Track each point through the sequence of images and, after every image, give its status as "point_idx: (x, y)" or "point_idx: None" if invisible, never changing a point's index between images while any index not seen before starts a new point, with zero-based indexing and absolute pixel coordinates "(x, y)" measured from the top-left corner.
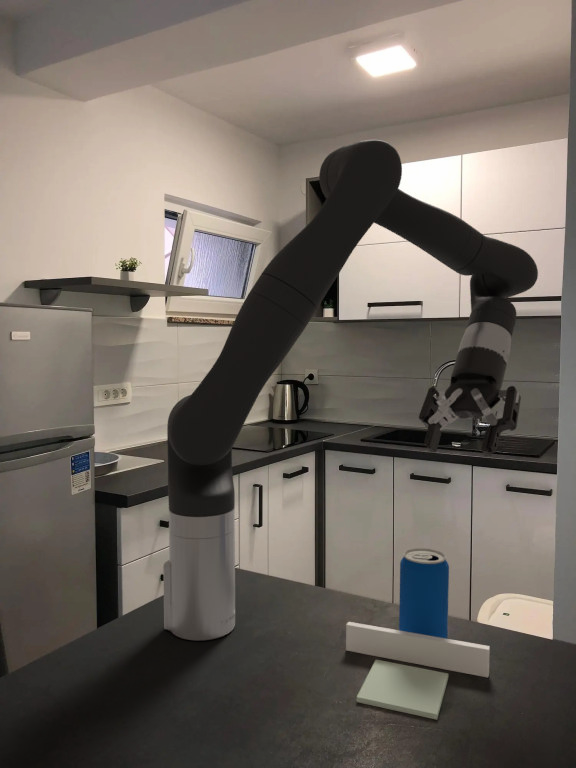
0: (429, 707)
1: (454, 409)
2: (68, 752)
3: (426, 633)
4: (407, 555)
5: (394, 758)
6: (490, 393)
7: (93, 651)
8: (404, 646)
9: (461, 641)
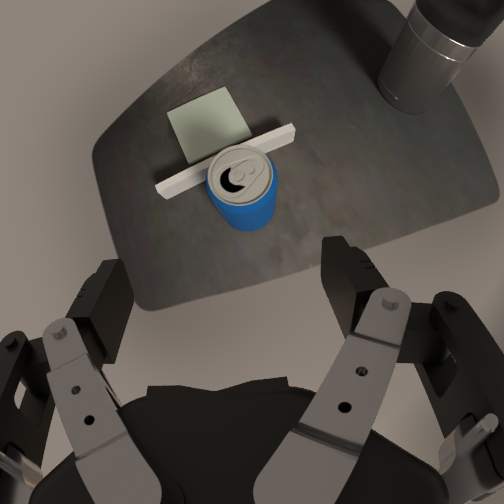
0: (175, 114)
1: (297, 390)
2: None
3: (228, 181)
4: (263, 162)
5: (170, 71)
6: (53, 493)
7: None
8: None
9: (182, 179)
